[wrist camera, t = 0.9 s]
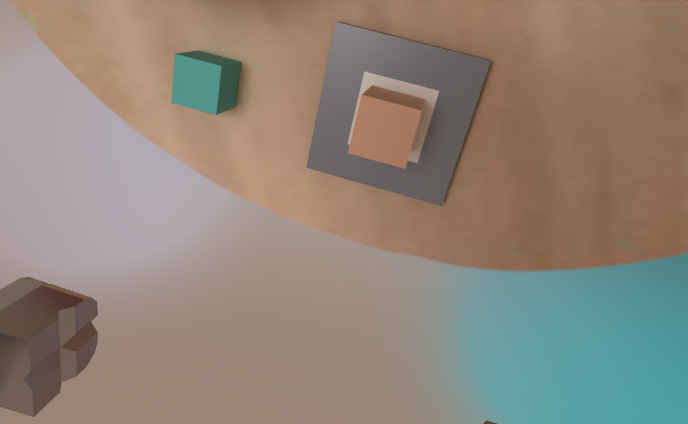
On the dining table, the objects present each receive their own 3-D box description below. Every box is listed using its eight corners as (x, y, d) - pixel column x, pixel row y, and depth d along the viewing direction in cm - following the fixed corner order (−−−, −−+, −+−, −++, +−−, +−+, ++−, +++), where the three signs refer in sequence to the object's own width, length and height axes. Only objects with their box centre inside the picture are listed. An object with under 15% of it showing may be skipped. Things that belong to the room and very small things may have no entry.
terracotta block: (372, 85, 44) (361, 94, 38) (425, 99, 43) (422, 110, 38) (359, 136, 46) (347, 153, 40) (410, 150, 45) (405, 168, 40)
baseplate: (338, 21, 43) (335, 21, 42) (489, 59, 42) (491, 61, 41) (309, 164, 49) (306, 167, 48) (442, 201, 48) (441, 205, 47)
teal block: (198, 50, 47) (175, 53, 43) (241, 61, 47) (221, 66, 42) (194, 95, 49) (171, 102, 45) (235, 106, 48) (216, 114, 44)
